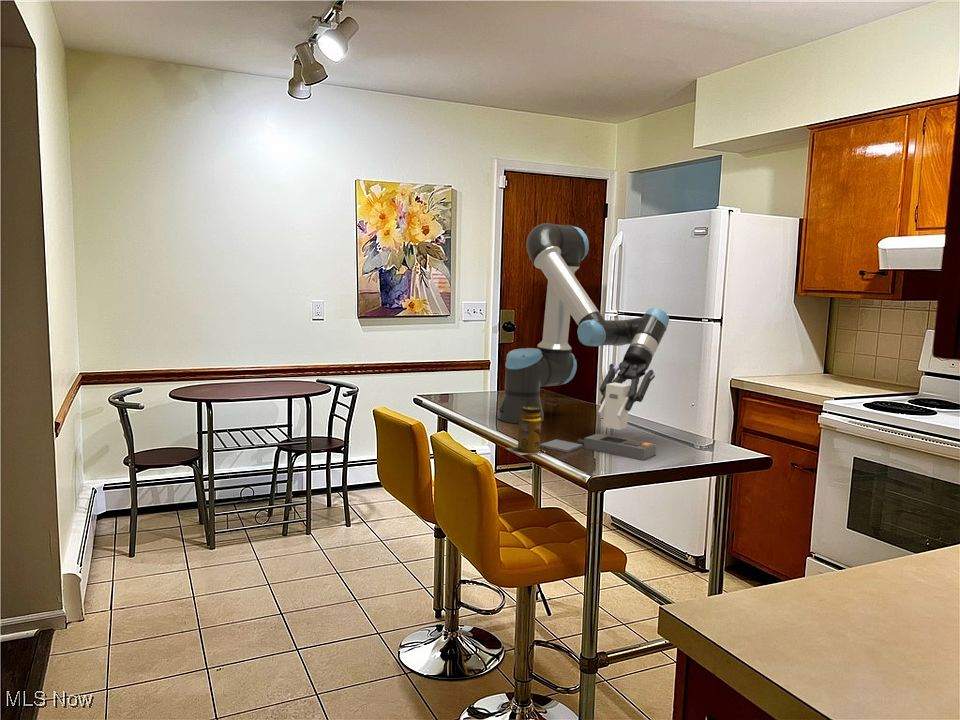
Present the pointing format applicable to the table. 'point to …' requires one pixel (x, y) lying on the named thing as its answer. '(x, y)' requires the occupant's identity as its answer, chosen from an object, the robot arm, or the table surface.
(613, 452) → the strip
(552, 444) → the mat
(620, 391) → the block
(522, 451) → the condiment
